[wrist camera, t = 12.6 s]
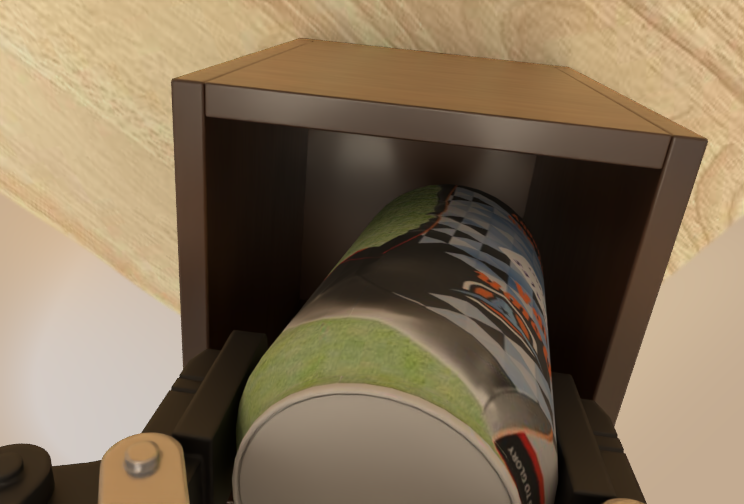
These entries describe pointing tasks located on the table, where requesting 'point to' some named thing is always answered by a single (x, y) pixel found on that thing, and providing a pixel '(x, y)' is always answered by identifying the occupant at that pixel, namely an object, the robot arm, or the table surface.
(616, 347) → the chest
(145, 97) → the table surface
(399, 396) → the beverage can
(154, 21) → the table surface
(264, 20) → the table surface
